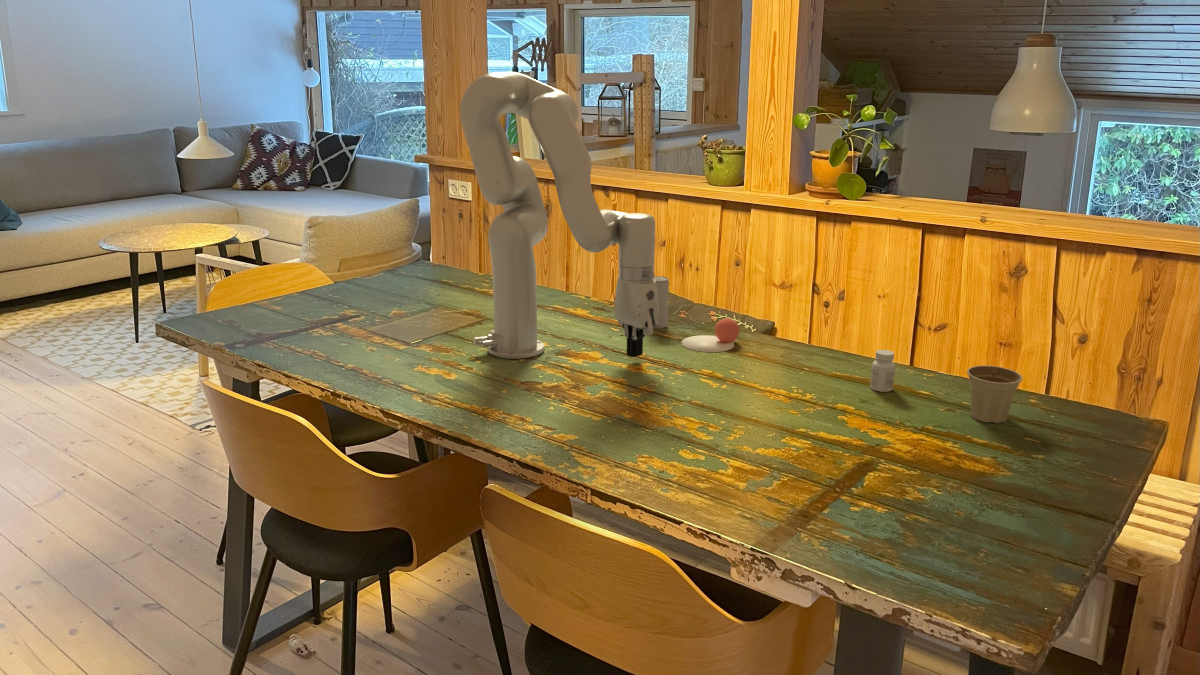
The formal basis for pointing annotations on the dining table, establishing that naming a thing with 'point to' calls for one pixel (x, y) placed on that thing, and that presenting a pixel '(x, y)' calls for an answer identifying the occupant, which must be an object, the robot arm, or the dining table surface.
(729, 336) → the ball
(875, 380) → the pill bottle
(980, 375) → the flower pot
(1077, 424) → the dining table surface
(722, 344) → the disc
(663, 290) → the beverage can
